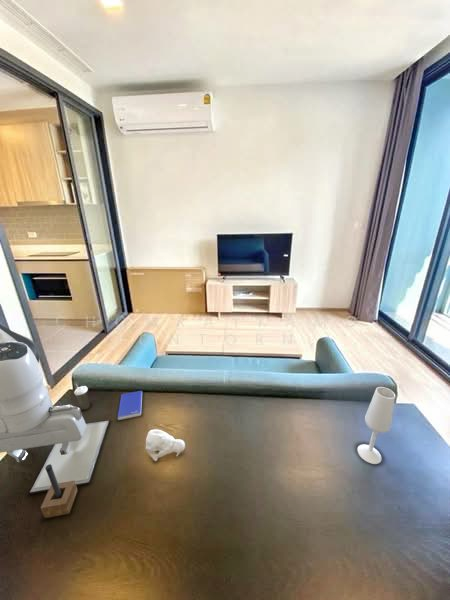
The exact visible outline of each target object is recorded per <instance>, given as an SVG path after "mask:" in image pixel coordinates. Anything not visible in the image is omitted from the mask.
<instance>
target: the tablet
mask: <svg viewBox="0 0 450 600" xmlns="http://www.w3.org/2000/svg"><path fill="white" fill-rule="evenodd" d="M109 423H110V421H109V420H105V421H97V422H96V421H95V422H89V423H86V430H85V432H84V435H83V436H82V438H81V439H80V440H78V441H72V442H70V443H69V445H70V451H69V453H68V454H65V455H61V453H60V449H61V448H62V443H59V444H53V447H52V449H51V451H50V452H49V454H48V456H47V458H46V461H45V462H44V465H43V467H42V468H41V470H40V472H39V474H38V476H37V478H36V480H35V482H34V484H33V486H32V487H31V489H30V491H29V493H30V495H36V494H40V493H41V494H42V493H48V491H49V489H50V486H51V482H50V479H49V476H48V474H47V471H46V469H45V468H46V466H47V465H49V464H51V466H52V469H53V471H54V474H55V477H56V480H57V482H58V483H62V482H68V481H74V480H75V483H76V486H77V487H80V486H87V485H90V483H91V479H92V476H93V473H94V470H95V468H96V465H97V461H98V458H99V455H100V451H101V448H102V445H103V442H104V440H105V436H106V433H107V430H108V428H109Z"/></svg>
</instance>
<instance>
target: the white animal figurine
mask: <svg viewBox="0 0 450 600" xmlns="http://www.w3.org/2000/svg"><path fill="white" fill-rule="evenodd" d="M185 448H186V443H185V440H183V439H180V438H176V439H175V438H174V436H172V435H171V434H169V433H168V432H166V431H163V430H161V429H156V428H155V429H150V430H149V431H148V433H147V435H146V437H145V451H146V453H147V454H148V455H149V457H151V458H152V460H153V461H154V462H157V461H158V459H159V458H161V457H165V456H166V455H170V454H171V453H176V457H178V456H179V455H180V453H182V452H184V450H185ZM157 451H159V452H158V453H157Z"/></svg>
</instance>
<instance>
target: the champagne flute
mask: <svg viewBox="0 0 450 600" xmlns="http://www.w3.org/2000/svg"><path fill="white" fill-rule="evenodd" d="M395 401H396V393H395V392H394V391H393V390H392V389H390V388H388V387H385V386H377V387H376V388H375V390H374V393H373V395H372V398H371V400H370V403H369V406H368V407H367V411H366V413H365V416H364V421H365V424H366V426H367V427H368V429H369V430H371V432H372V433H371V437H370V440H369V444H366V443H365V444H364V443H363V444H359V445H358V447H357V449H356V450H357V454H358V456H359V457H360V458H361V459H362V460H363V461H365V462H366V463H370V464H372V465H377V464H380V463H382V455H381V453H380V452H379V450H377V449H376V448H375V447H374V446H375V443H376V439H377V435H378V434H381V435H382V434H386V433H388V432H390V431H391V429H392V423H393V416H394V409H395Z"/></svg>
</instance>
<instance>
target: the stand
mask: <svg viewBox="0 0 450 600" xmlns="http://www.w3.org/2000/svg"><path fill="white" fill-rule="evenodd" d="M58 485H59V488H60V491H61V493H62V498H59V499H57V498H56V495H55V492H54V490H53V487H52V484H51V486H50V489H49V491H47V492H46V495H45V497H44V499H43V502H42V504H41V506H40V510H41V512H42V515H43V517H44V519H46V518H48V519H49V518H52V517H58V516H64V515H69V514H70V513H71V510H72V507H73V505H74V502H75V499H76V497H77V493H78V491H79V490H78V489H79V488H78V486H76V483H75V480H74V481H68V482H62V483H58Z"/></svg>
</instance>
